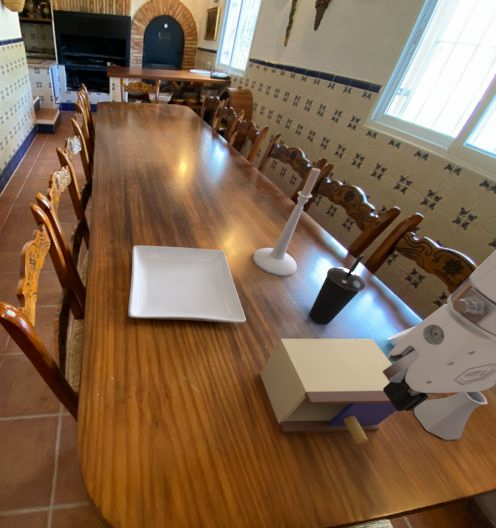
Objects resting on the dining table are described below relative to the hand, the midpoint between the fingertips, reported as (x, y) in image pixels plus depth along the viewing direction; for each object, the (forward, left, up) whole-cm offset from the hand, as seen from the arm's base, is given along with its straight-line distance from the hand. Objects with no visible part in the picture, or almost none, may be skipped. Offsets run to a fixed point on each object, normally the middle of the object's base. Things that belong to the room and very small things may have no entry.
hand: (395, 400), depth 41 cm
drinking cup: (+29, -12, -17) cm, 36 cm away
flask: (+4, -22, -17) cm, 28 cm away
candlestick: (+51, -9, -17) cm, 54 cm away
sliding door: (+1, -4, -16) cm, 16 cm away
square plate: (+39, +22, -17) cm, 48 cm away
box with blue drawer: (+8, 0, -17) cm, 19 cm away
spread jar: (+17, -28, -17) cm, 37 cm away
